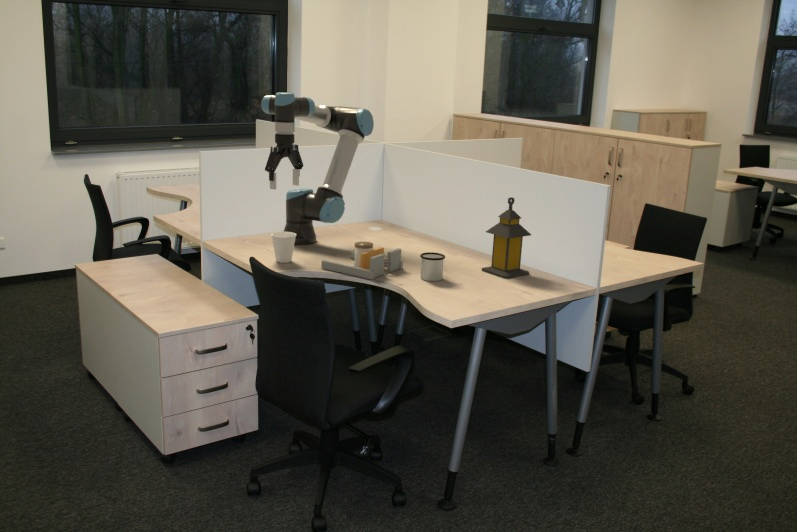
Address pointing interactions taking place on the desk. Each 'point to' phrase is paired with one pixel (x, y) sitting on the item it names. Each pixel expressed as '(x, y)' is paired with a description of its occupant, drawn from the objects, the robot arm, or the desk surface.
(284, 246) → the cup
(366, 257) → the pusher
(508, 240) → the lantern
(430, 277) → the mug
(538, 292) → the desk surface
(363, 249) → the jar
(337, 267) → the lane
